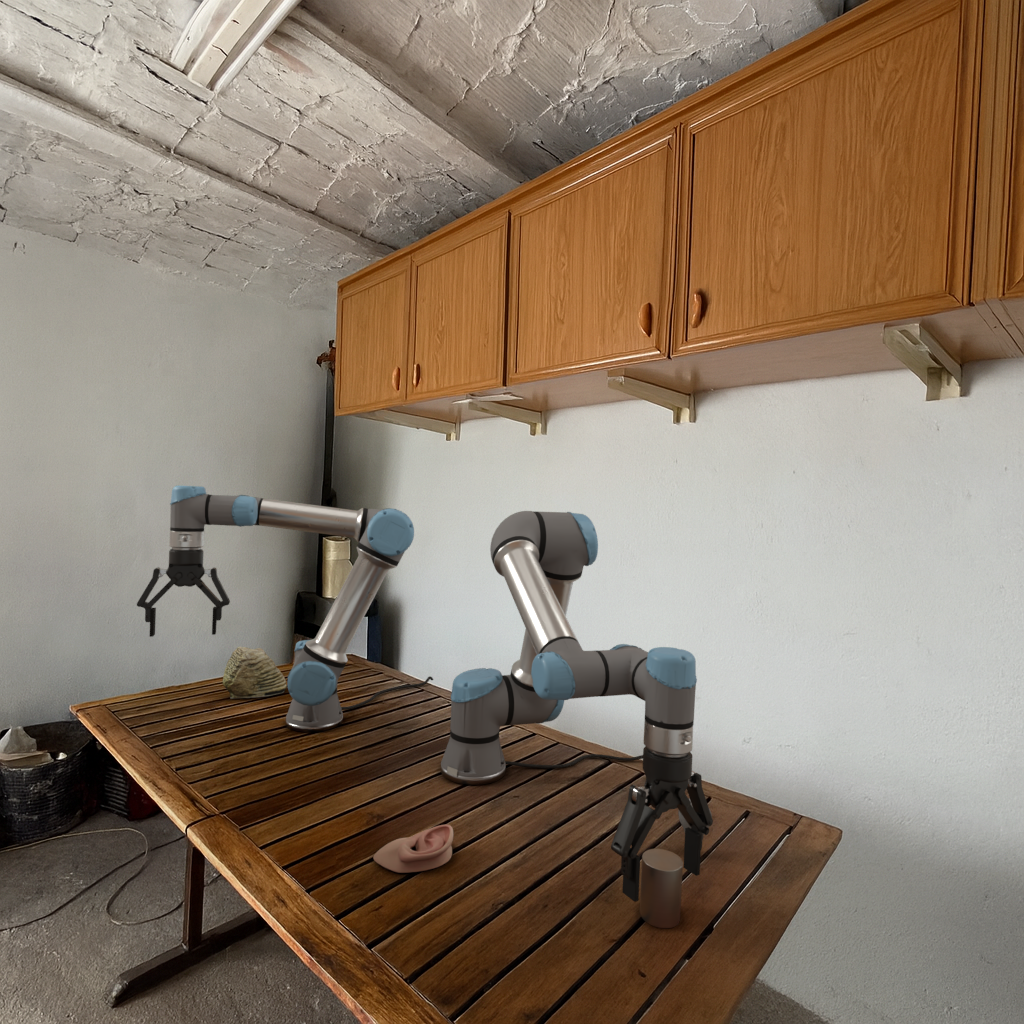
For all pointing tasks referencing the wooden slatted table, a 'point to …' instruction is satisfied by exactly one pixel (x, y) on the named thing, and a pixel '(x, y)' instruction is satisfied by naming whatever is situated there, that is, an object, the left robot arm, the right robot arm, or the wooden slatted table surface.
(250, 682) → the fossil
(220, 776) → the wooden slatted table surface
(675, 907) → the can
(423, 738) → the wooden slatted table surface
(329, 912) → the wooden slatted table surface
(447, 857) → the anatomical model
